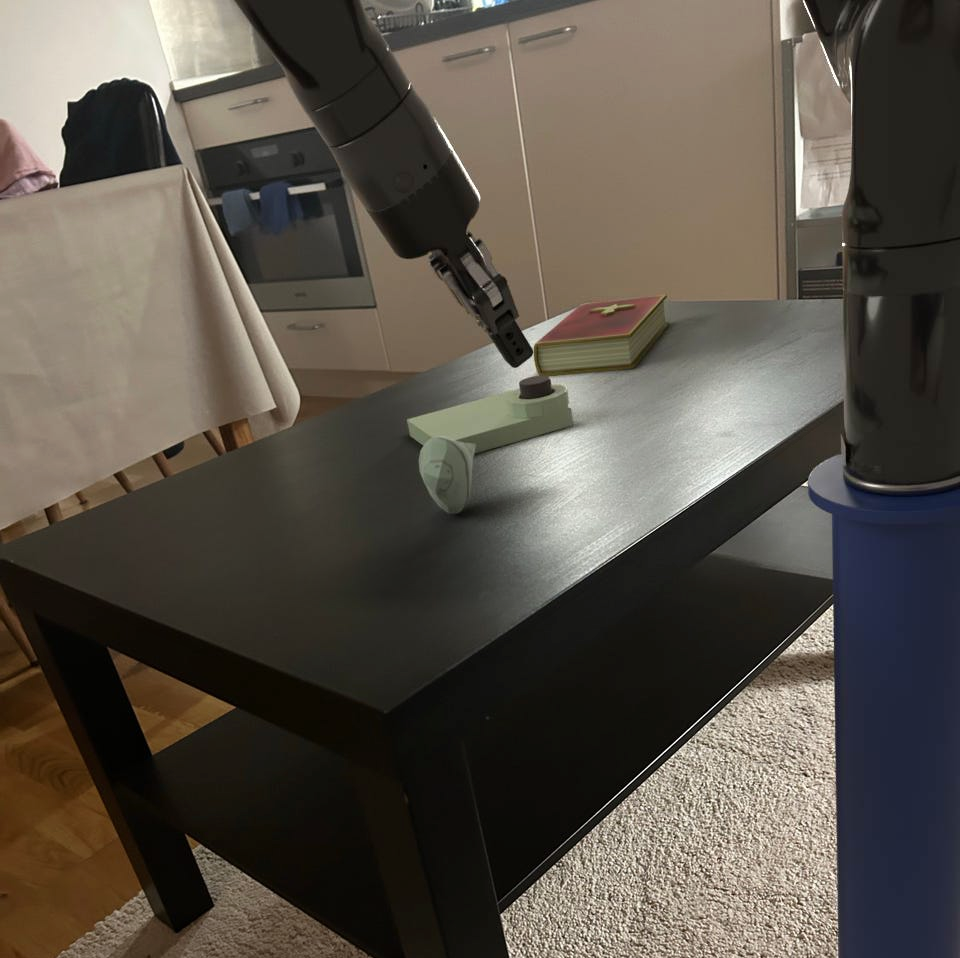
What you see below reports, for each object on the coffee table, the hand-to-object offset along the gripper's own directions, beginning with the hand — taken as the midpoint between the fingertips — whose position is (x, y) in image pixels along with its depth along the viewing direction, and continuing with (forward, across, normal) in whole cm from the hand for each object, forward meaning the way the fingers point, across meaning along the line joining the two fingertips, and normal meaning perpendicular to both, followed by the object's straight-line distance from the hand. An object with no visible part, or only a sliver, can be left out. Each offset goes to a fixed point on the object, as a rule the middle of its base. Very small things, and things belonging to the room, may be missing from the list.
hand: (521, 358), depth 83 cm
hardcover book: (+27, +39, -15) cm, 49 cm away
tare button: (+13, +15, -1) cm, 20 cm away
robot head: (+7, -2, +12) cm, 14 cm away
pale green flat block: (+14, +18, +4) cm, 23 cm away
